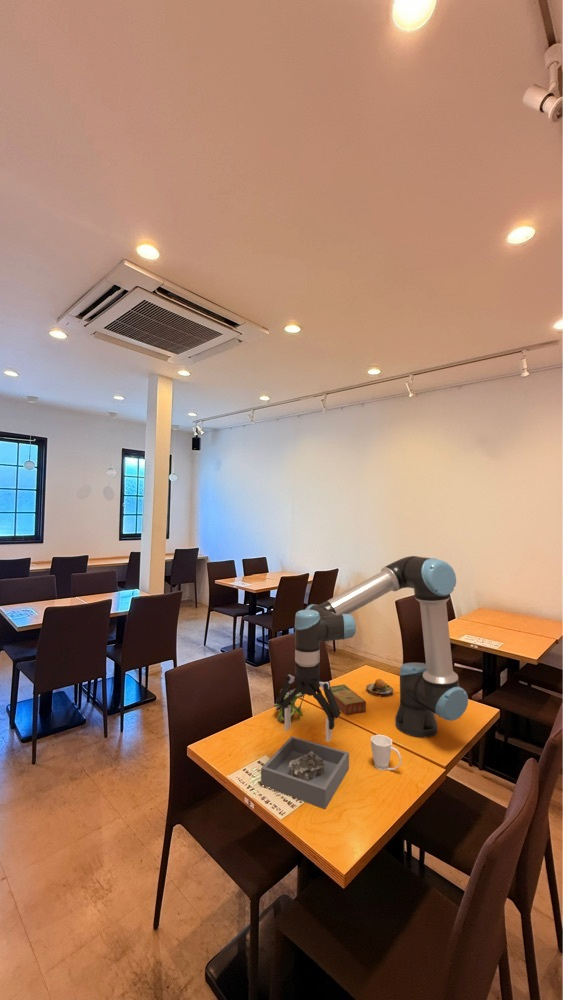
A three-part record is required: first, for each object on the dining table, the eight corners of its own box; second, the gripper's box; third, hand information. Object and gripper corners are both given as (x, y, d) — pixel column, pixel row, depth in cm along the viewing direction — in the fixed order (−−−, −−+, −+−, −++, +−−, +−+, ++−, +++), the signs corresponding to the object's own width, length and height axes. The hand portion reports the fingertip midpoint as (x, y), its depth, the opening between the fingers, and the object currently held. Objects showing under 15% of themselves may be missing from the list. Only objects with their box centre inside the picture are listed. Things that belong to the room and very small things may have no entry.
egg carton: (302, 786, 117) (302, 772, 117) (286, 773, 123) (286, 759, 123) (328, 772, 124) (328, 759, 124) (312, 761, 129) (312, 748, 130)
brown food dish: (395, 689, 188) (395, 673, 188) (391, 700, 177) (391, 682, 177) (369, 685, 193) (369, 668, 193) (363, 694, 182) (363, 677, 182)
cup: (376, 757, 134) (376, 731, 134) (405, 769, 127) (405, 743, 128) (365, 766, 128) (366, 740, 129) (395, 780, 122) (395, 752, 122)
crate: (349, 769, 127) (349, 752, 127) (325, 809, 109) (325, 789, 110) (291, 751, 136) (291, 736, 137) (260, 785, 119) (261, 768, 119)
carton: (345, 716, 162) (345, 704, 162) (325, 697, 179) (325, 686, 179) (366, 713, 165) (366, 700, 165) (344, 694, 182) (344, 683, 182)
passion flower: (283, 727, 164) (291, 692, 172) (308, 731, 157) (315, 694, 165) (264, 718, 157) (273, 681, 165) (290, 721, 150) (297, 683, 158)
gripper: (350, 665, 122) (351, 738, 121) (277, 652, 134) (277, 719, 133) (342, 674, 115) (343, 751, 115) (265, 659, 127) (265, 729, 126)
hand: (307, 734), depth 124 cm, fingers open, 13 cm apart
